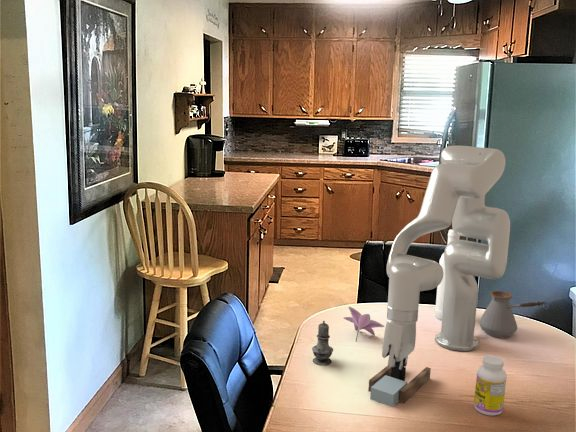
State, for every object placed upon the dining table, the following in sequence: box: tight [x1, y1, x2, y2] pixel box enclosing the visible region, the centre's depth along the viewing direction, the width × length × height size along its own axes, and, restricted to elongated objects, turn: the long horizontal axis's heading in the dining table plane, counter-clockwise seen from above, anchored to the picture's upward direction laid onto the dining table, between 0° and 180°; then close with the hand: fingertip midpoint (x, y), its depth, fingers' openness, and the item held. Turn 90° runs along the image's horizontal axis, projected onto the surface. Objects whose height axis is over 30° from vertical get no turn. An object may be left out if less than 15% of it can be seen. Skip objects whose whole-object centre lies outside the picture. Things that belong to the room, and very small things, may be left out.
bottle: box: [434, 228, 461, 322], centre depth 198 cm, size 8×8×30 cm
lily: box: [343, 306, 385, 343], centre depth 183 cm, size 12×12×10 cm
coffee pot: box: [478, 290, 549, 339], centre depth 184 cm, size 21×12×15 cm, turn 34°
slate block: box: [369, 375, 408, 408], centre depth 148 cm, size 8×6×4 cm
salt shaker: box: [311, 320, 334, 366], centre depth 166 cm, size 6×6×12 cm
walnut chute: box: [367, 365, 431, 404], centre depth 154 cm, size 16×10×3 cm, turn 144°
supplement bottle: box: [473, 355, 507, 416], centre depth 142 cm, size 7×7×13 cm
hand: (397, 381), depth 153 cm, fingers closed
